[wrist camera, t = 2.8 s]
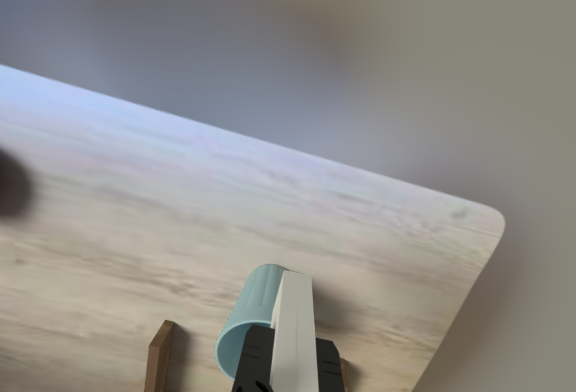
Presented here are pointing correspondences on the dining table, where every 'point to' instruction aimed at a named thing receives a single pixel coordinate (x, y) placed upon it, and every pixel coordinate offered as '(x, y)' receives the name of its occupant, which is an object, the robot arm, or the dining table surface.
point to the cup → (248, 315)
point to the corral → (161, 354)
